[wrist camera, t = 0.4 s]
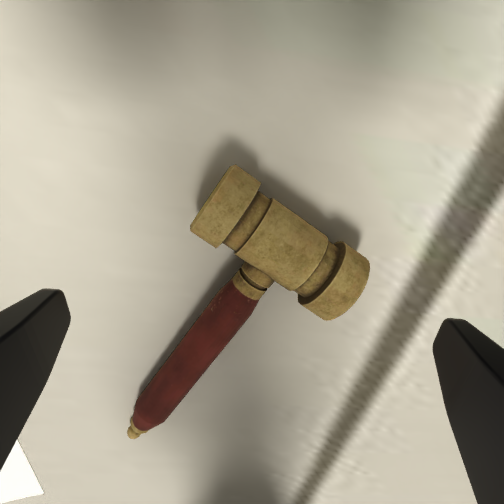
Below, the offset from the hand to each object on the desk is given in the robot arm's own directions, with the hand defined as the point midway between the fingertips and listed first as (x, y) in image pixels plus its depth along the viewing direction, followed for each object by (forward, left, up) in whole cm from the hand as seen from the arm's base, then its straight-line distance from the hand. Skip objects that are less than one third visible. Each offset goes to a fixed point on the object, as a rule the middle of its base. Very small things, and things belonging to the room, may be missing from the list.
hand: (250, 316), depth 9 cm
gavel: (-9, -2, -16) cm, 18 cm away
